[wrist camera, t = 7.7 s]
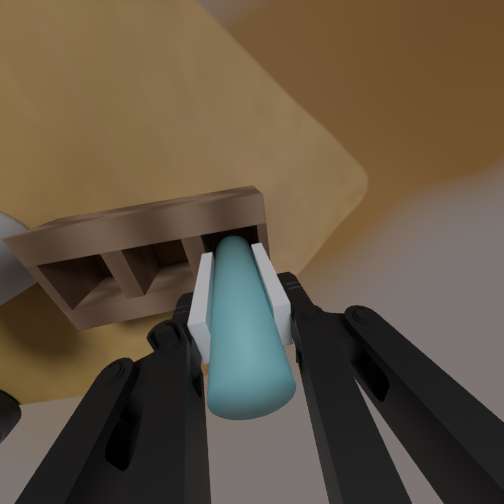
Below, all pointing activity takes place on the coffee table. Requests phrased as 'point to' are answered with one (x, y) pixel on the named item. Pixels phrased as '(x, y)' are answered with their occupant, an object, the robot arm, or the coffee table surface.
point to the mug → (11, 263)
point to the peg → (244, 340)
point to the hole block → (132, 253)
